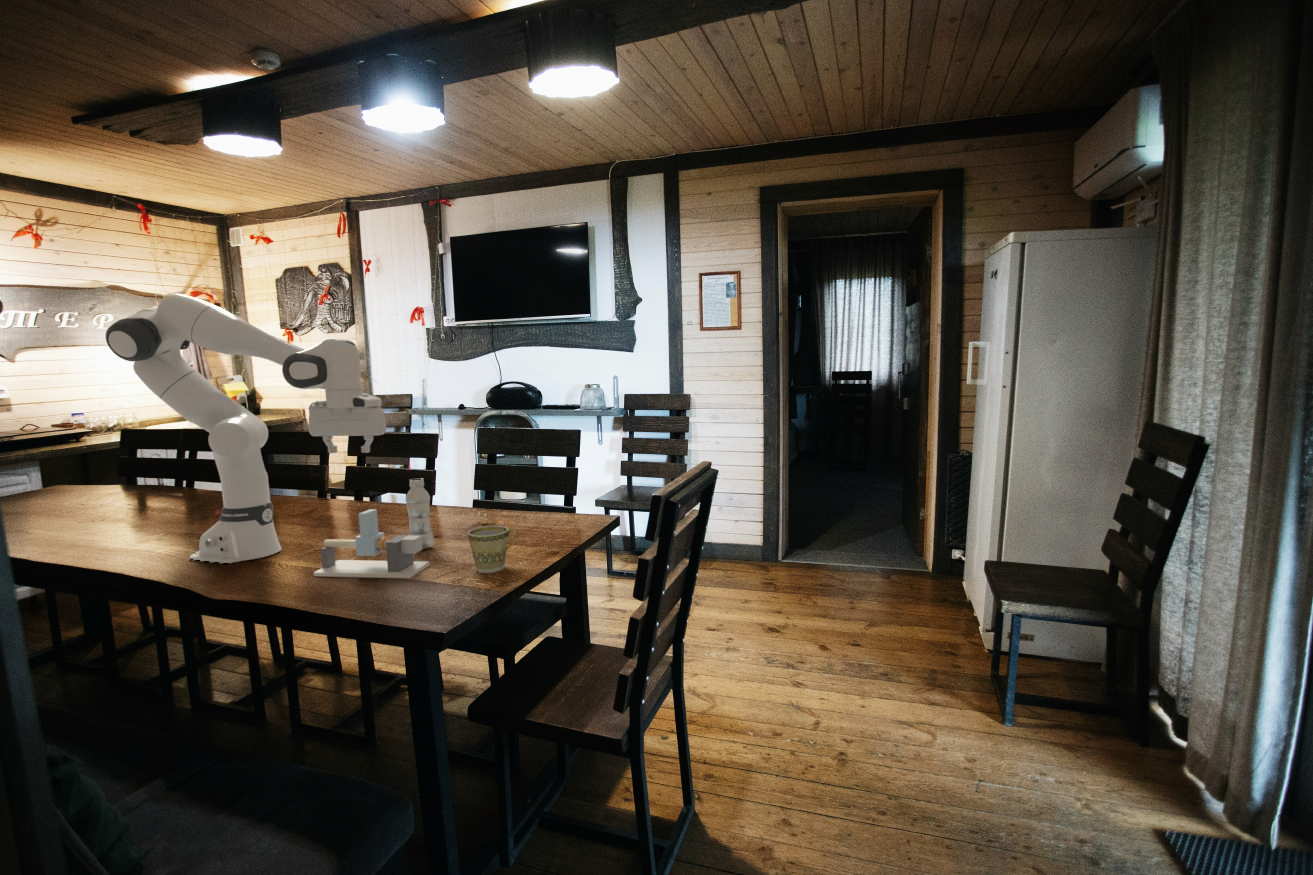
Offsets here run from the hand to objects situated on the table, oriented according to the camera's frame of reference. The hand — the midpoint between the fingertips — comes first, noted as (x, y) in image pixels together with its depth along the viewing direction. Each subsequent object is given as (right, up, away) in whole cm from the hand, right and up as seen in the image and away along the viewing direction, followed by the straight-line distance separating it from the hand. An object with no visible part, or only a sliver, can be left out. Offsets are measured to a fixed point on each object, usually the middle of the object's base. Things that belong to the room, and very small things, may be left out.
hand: (349, 452), depth 170 cm
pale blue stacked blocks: (+9, -25, -7) cm, 28 cm away
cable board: (+9, -30, -7) cm, 32 cm away
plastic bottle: (+15, -28, +12) cm, 34 cm away
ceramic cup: (+41, -29, -7) cm, 51 cm away
